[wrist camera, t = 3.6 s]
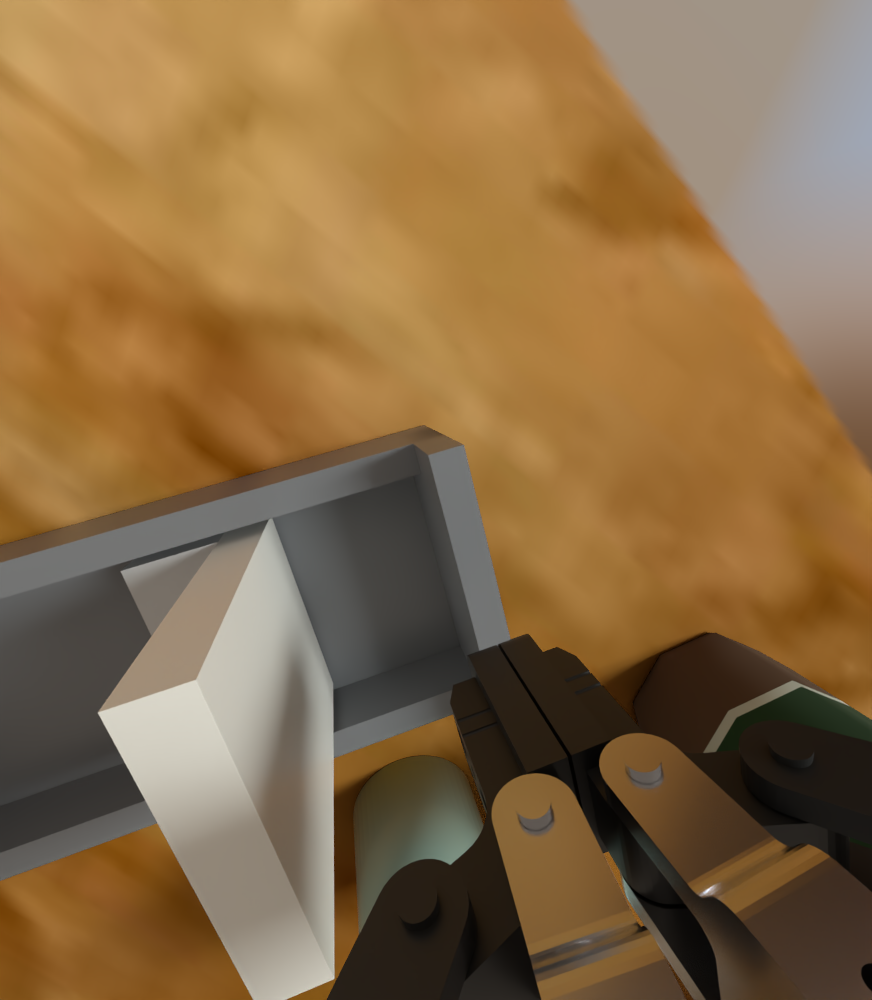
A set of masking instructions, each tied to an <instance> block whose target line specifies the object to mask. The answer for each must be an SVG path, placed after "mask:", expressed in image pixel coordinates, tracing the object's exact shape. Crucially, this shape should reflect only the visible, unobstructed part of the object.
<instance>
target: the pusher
mask: <svg viewBox="0 0 872 1000" xmlns="http://www.w3.org/2000/svg"><path fill="white" fill-rule="evenodd" d="M121 573H122V575H123V578H124V580H125V582H126V584H127V586H128V588H129V590H130V592H131V594H132V596H133V598H134V601H135V603H136V605H137V607H138V609H139V611H140V613H141V615H142V617H143V619H144V621H145V624H146V626H147V628H148V630H149V632H150V634H151V638H150V639H149V641H148V642H147V643H146V645H145V646H144V648H143V649H142V650H141V652H140V653H139V655H138V656H137V658H136V659H135V660H134V662H133V663H132V665H131V666H130V668H129V669H128V670H127V672H126V673H125V675H124V676H123V677H122V679H121V680H120V682H119V683H118V685H117V686H116V687H115V689H114V690H113V692H112V693H111V694H110V696H109V697H108V699H107V700H106V702H105V703H104V704H103V706H102V707H101V709H100V710H99V711H98V714H99V716H100V718H101V720H102V722H103V723H104V725H105V727H106V729H107V731H108V733H109V734H110V736H111V738H112V740H113V742H114V744H115V746H116V747H117V749H118V751H119V753H120V755H121V757H122V758H123V760H124V762H125V764H126V766H127V768H128V769H129V771H130V773H131V775H132V777H133V779H134V781H135V782H136V784H137V786H138V788H139V790H140V792H141V793H142V795H143V797H144V799H145V801H146V803H147V805H148V806H149V808H150V810H151V812H152V814H153V816H154V817H155V819H156V821H157V823H158V825H159V827H160V829H161V830H162V832H163V834H164V836H165V838H166V840H167V841H168V843H169V845H170V847H171V849H172V851H173V853H174V854H175V856H176V858H177V860H178V862H179V864H180V865H181V867H182V869H183V871H184V873H185V875H186V876H187V878H188V880H189V882H190V884H191V886H192V888H193V889H194V891H195V893H196V895H197V897H198V899H199V900H200V902H201V904H202V906H203V908H204V910H205V912H206V913H207V915H208V917H209V919H210V921H211V923H212V924H213V926H214V928H215V930H216V932H217V934H218V936H219V937H220V939H221V941H222V943H223V945H224V947H225V948H226V950H227V952H228V954H229V956H230V958H231V959H232V961H233V963H234V965H235V967H236V969H237V971H238V972H239V974H240V976H241V978H242V980H243V982H244V983H245V985H246V987H247V989H248V991H249V993H250V995H251V996H252V998H253V1000H286V999H288V998H291V997H293V996H295V995H298V994H300V993H302V992H305V991H307V990H309V989H312V988H314V987H316V986H319V985H321V984H323V983H326V982H328V981H331V980H333V979H334V748H333V681H332V679H331V676H330V673H329V671H328V668H327V665H326V662H325V660H324V657H323V654H322V652H321V649H320V646H319V644H318V641H317V638H316V635H315V633H314V630H313V627H312V625H311V622H310V619H309V616H308V614H307V611H306V608H305V606H304V603H303V600H302V597H301V595H300V592H299V589H298V587H297V584H296V581H295V579H294V576H293V573H292V570H291V568H290V565H289V562H288V560H287V557H286V554H285V551H284V549H283V546H282V543H281V541H280V538H279V535H278V532H277V530H276V527H275V524H274V522H273V519H272V518H271V519H267V520H264V521H261V522H257V523H254V524H251V525H247V526H244V527H241V528H237V529H234V530H230V531H227V532H224V533H220V534H217V535H214V536H210V537H207V538H204V539H200V540H197V541H194V542H190V543H187V544H183V545H180V546H177V547H173V548H170V549H167V550H163V551H160V552H157V553H153V554H150V555H146V556H143V557H140V558H136V559H133V560H132V561H131V562H130V563H129V564H128V565H127V566H126V567H125V568H123V569H122V570H121Z"/></svg>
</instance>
